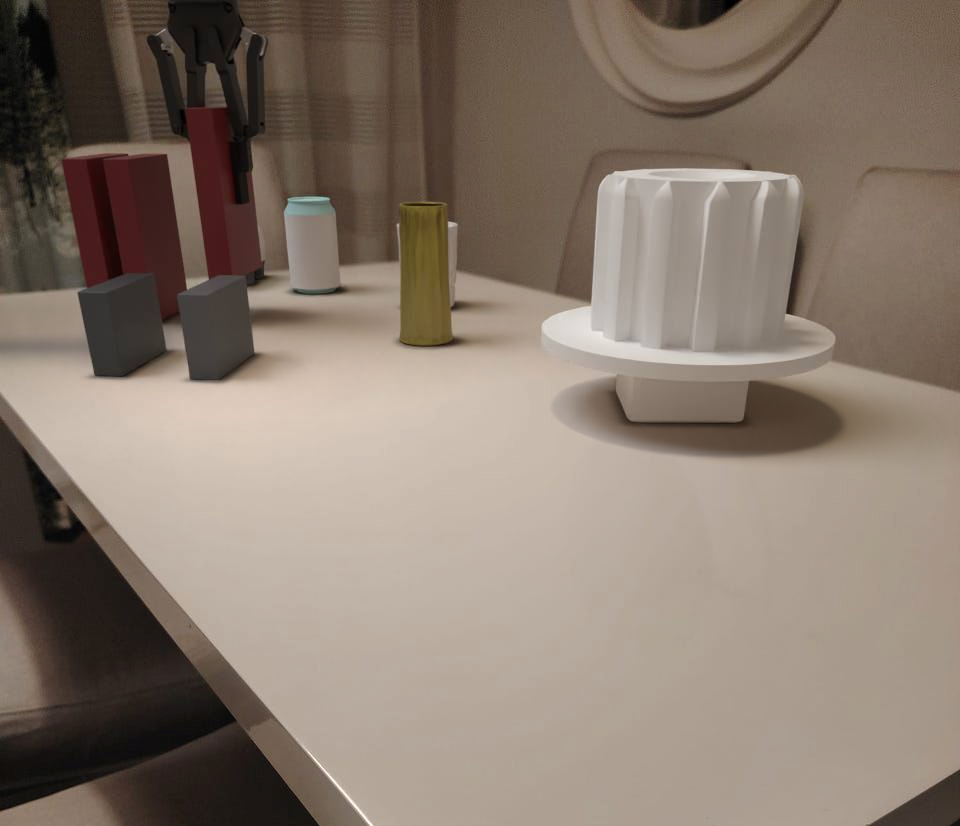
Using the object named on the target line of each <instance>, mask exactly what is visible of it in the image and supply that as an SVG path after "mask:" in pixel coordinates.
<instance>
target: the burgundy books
mask: <svg viewBox="0 0 960 826" xmlns="http://www.w3.org/2000/svg"><path fill="white" fill-rule="evenodd" d="M60 161H61V165H62V170H63V176H64V180H65V185H66V190H67V195H68V200H69V206H70V210H71V216H72V220H73V225H74V230H75V235H76V240H77V245H78V250H79V255H80V260H81V261H80V262H81V265H82V271H83V277H84V281H85V285H86V289H87V288H89V287H92V286H95V285H97V284H100V283H103V282H105V281H108V280H111V279H113V278H116V277H119V276H121V275H124V274H127V273H146V274H154V276H155V282H156V288H157V294H158V300H159V306H160V312H161V319H162V321H163V320H165V319H167V318H169V317H171V316H174V315H175V314H177V313H180V311H179V304H178V298H177V294H179V293H181V292H184V291H186V290H188V286H187V279H186V273H185V272H186V271H185V266H184V265H185V264H184V259H183V253H182V246H181V238H180V232H179V231H180V230H179V226H178V225H179V224H178V220H177V219H178V218H177V211H176V206H175V199H174V192H173V186H172V185H173V184H172V179H171V178H172V177H171V172H170V164H169V159H168V154H167V153H139V154H132V155H130V154H129V153H122V152H121V153H120V152H119V153H116V152H115V153H113V152H111V153H109V152H108V153H107V152H105V153H98V154H89V155H81V156H73V157H64V158H63V157H62V158H61V159H60Z"/></svg>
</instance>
